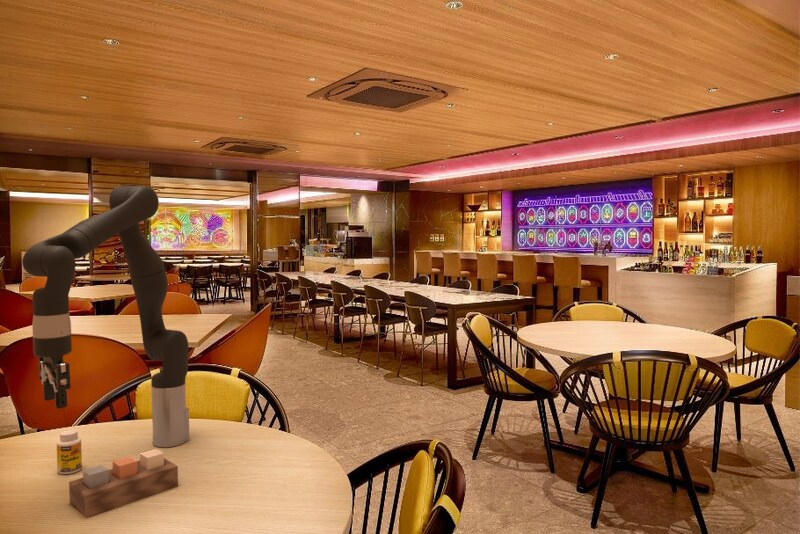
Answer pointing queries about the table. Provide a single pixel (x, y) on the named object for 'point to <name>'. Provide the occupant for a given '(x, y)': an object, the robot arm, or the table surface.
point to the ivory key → (151, 459)
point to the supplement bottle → (69, 452)
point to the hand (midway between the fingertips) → (55, 403)
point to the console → (122, 489)
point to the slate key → (95, 476)
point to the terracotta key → (124, 467)
